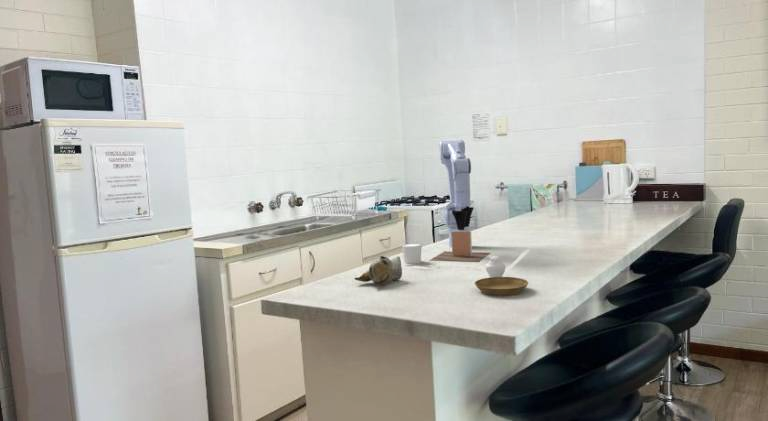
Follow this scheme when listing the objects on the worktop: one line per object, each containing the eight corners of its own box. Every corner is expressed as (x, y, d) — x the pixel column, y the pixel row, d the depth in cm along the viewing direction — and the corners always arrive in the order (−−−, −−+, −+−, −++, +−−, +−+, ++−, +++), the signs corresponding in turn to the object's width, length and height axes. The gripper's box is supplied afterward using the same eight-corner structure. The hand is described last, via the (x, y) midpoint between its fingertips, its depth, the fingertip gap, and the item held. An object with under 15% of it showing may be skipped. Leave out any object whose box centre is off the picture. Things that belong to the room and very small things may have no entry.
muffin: (506, 280, 179) (505, 257, 178) (485, 280, 180) (484, 257, 179) (506, 275, 185) (505, 253, 184) (486, 275, 186) (485, 253, 185)
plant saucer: (475, 298, 161) (475, 289, 160) (474, 285, 175) (474, 276, 175) (531, 297, 159) (531, 288, 158) (525, 284, 173) (525, 276, 173)
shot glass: (422, 262, 212) (421, 243, 212) (422, 266, 206) (421, 246, 205) (403, 262, 213) (402, 243, 212) (402, 266, 206) (401, 246, 206)
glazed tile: (453, 254, 218) (452, 230, 218) (472, 255, 216) (471, 230, 215) (452, 255, 217) (451, 231, 216) (470, 256, 214) (470, 231, 213)
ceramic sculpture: (410, 253, 183) (373, 263, 174) (413, 280, 184) (376, 292, 175) (387, 249, 191) (351, 260, 182) (390, 276, 193) (354, 287, 183)
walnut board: (444, 254, 226) (444, 251, 226) (491, 255, 219) (491, 252, 219) (428, 263, 210) (428, 260, 210) (478, 265, 203) (478, 262, 203)
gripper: (456, 190, 227) (457, 225, 228) (446, 193, 213) (447, 231, 215) (474, 189, 224) (475, 225, 225) (465, 193, 211) (467, 231, 212)
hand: (463, 228), depth 220 cm, fingers open, 7 cm apart
